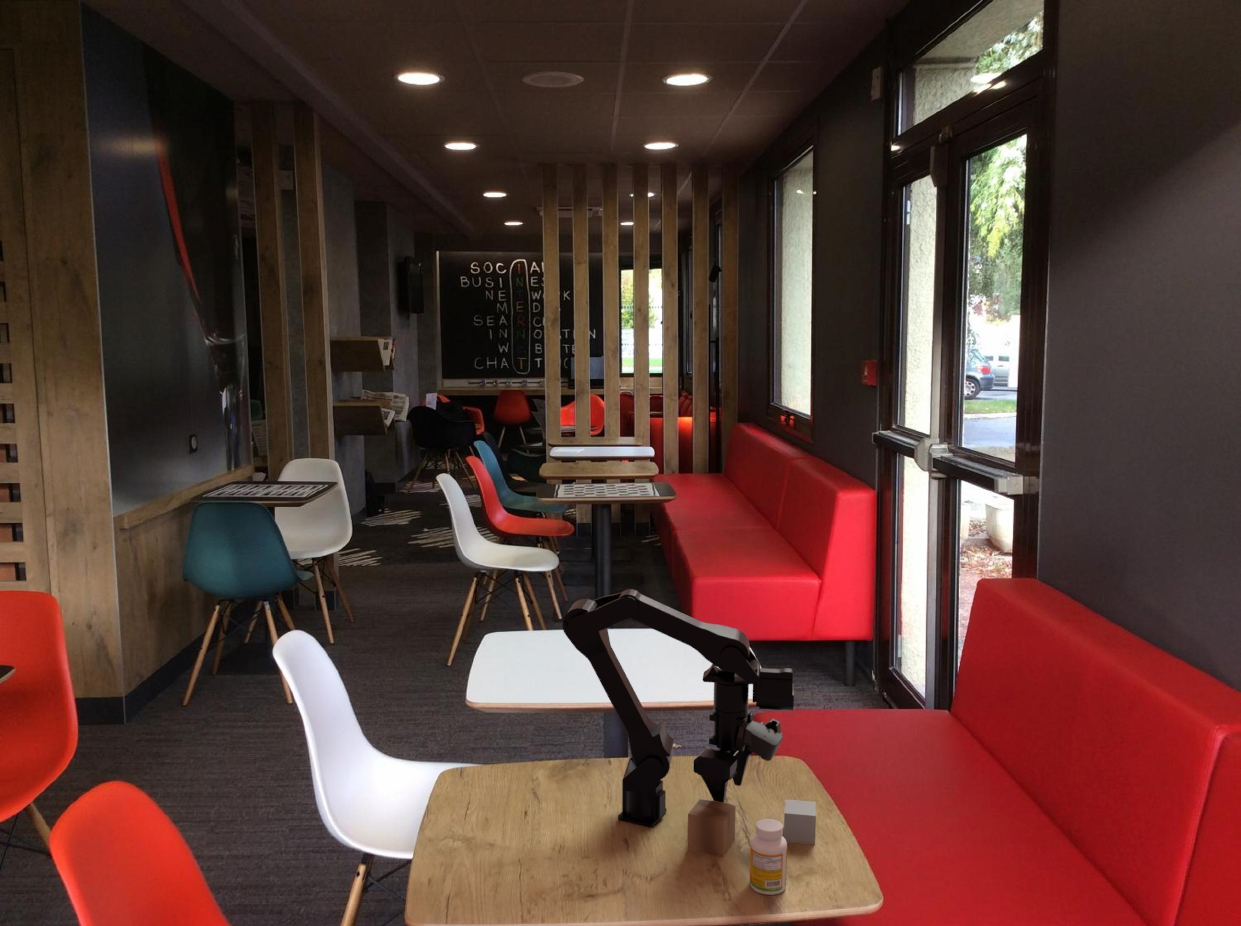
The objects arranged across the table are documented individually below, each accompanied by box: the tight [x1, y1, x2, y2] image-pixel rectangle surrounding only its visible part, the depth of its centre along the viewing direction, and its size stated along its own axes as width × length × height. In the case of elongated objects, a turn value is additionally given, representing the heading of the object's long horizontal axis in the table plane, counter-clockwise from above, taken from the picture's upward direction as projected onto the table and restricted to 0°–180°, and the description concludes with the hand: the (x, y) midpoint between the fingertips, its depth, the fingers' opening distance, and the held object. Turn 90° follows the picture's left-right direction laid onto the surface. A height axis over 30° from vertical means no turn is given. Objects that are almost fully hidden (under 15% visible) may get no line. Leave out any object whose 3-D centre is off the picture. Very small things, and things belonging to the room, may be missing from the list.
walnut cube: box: [687, 797, 737, 858], centre depth 167 cm, size 6×6×6 cm
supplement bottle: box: [749, 818, 788, 896], centre depth 155 cm, size 5×5×10 cm
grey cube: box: [783, 799, 817, 846], centre depth 170 cm, size 5×5×5 cm
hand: (729, 795), depth 175 cm, fingers open, 9 cm apart
